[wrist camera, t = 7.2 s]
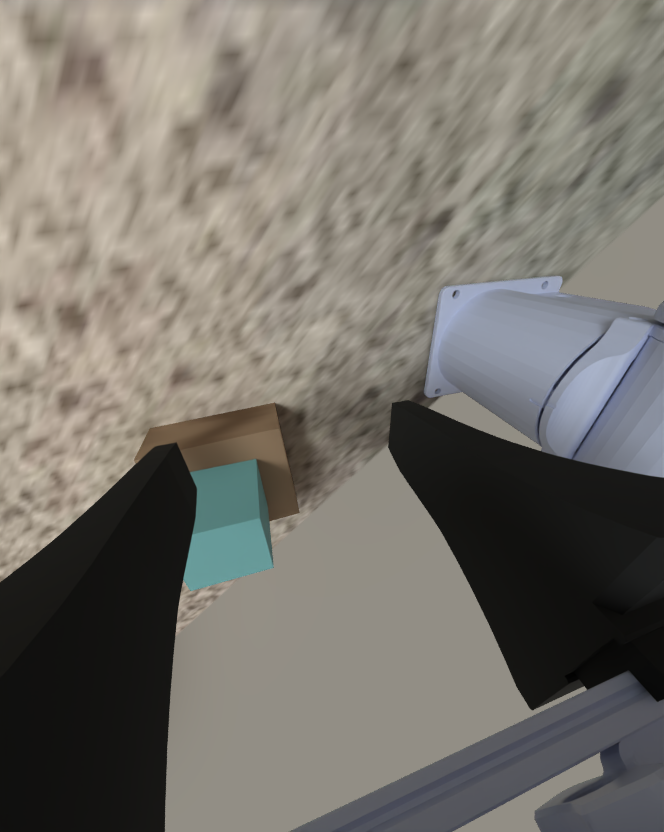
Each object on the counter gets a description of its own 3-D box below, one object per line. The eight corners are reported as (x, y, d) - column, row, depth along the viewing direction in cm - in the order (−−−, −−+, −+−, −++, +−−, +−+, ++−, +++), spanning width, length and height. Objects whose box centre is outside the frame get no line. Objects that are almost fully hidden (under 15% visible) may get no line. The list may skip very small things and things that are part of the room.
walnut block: (274, 400, 19) (279, 428, 16) (292, 480, 24) (299, 512, 21) (151, 425, 18) (134, 460, 15) (195, 505, 22) (188, 543, 20)
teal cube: (256, 458, 17) (259, 518, 14) (267, 506, 20) (273, 567, 16) (178, 474, 16) (159, 542, 13) (200, 522, 19) (190, 591, 15)
